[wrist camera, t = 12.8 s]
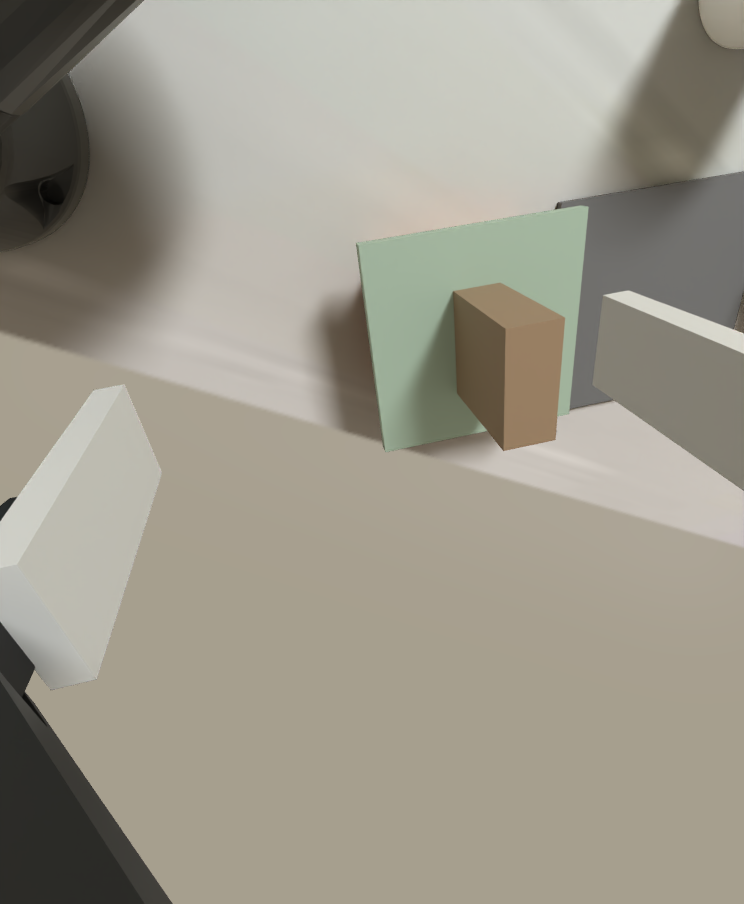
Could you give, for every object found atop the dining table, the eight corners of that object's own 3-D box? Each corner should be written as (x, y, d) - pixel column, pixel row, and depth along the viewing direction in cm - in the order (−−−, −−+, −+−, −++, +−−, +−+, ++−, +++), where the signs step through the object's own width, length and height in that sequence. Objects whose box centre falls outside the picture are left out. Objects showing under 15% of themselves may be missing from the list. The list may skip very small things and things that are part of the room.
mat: (557, 202, 40) (561, 203, 40) (770, 167, 42) (776, 167, 41) (544, 410, 50) (547, 413, 50) (716, 375, 52) (720, 377, 52)
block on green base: (355, 243, 33) (387, 273, 25) (580, 205, 35) (682, 221, 26) (383, 446, 42) (413, 520, 33) (562, 408, 43) (635, 470, 35)
